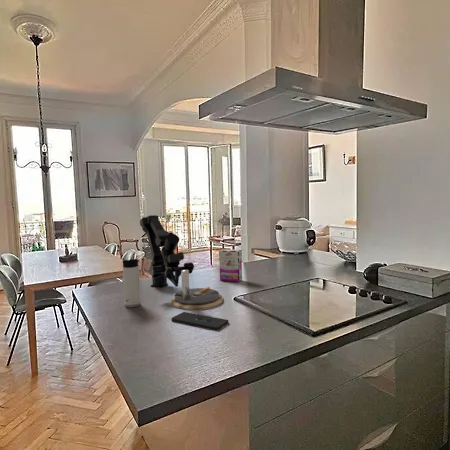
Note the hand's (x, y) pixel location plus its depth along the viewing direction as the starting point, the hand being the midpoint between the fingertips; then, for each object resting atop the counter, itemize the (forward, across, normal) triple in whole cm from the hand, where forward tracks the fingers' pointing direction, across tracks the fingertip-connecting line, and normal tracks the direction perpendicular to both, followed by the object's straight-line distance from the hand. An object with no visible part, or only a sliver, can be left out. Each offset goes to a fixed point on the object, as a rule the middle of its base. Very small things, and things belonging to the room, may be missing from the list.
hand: (177, 286), depth 152 cm
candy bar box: (-8, +35, +18) cm, 40 cm away
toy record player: (+7, +7, -1) cm, 10 cm away
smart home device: (+25, -1, -16) cm, 30 cm away
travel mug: (+3, -19, +6) cm, 20 cm away
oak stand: (+9, +7, 0) cm, 11 cm away
